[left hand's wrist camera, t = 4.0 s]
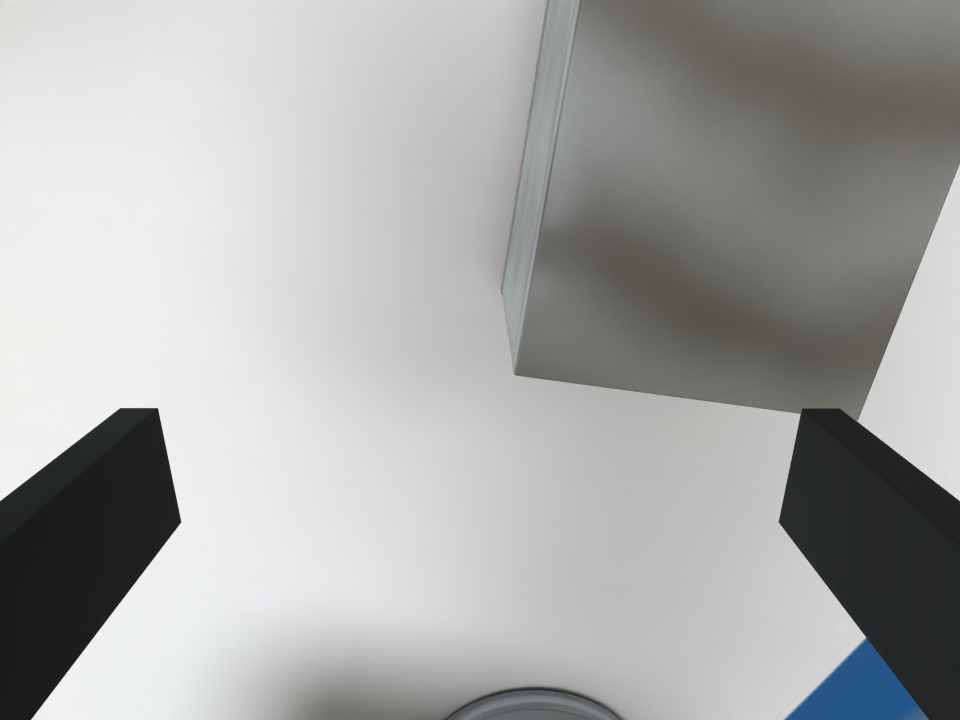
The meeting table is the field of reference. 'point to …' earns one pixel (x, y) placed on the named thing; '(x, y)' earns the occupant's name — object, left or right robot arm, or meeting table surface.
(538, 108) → the cabinet
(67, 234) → the meeting table surface
